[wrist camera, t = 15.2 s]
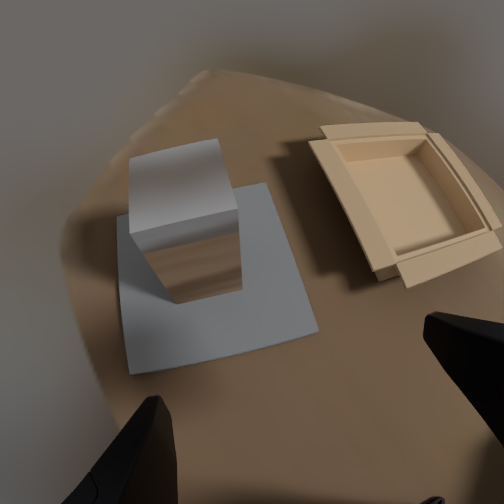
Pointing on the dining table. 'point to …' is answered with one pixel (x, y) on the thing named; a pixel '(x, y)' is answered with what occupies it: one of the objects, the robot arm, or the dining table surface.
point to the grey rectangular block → (186, 220)
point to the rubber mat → (215, 298)
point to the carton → (407, 199)
